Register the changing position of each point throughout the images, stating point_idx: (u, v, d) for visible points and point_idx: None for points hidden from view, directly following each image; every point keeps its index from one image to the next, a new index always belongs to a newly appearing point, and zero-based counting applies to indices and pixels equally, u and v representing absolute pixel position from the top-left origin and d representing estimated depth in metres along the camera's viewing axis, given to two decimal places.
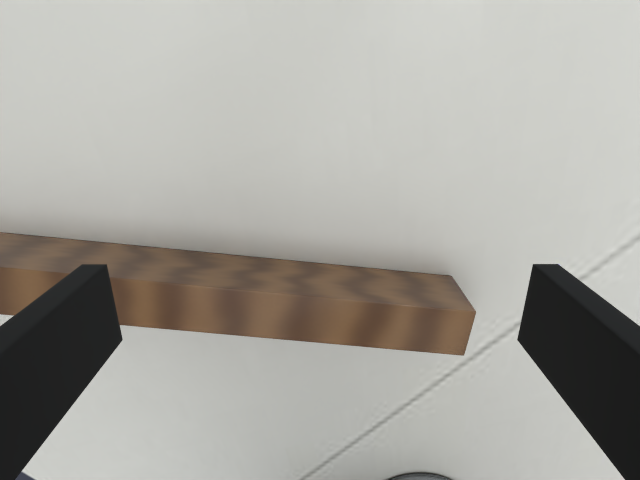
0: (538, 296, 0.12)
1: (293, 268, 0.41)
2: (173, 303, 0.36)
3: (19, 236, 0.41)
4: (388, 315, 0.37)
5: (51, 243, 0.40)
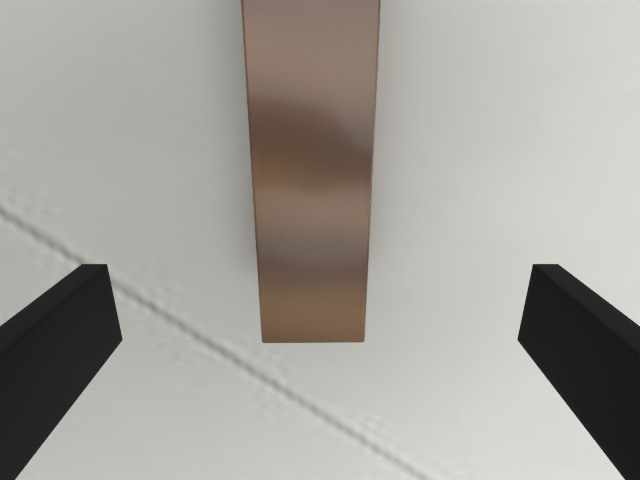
0: (538, 296, 0.12)
1: None
2: None
3: None
4: (342, 178, 0.16)
5: None
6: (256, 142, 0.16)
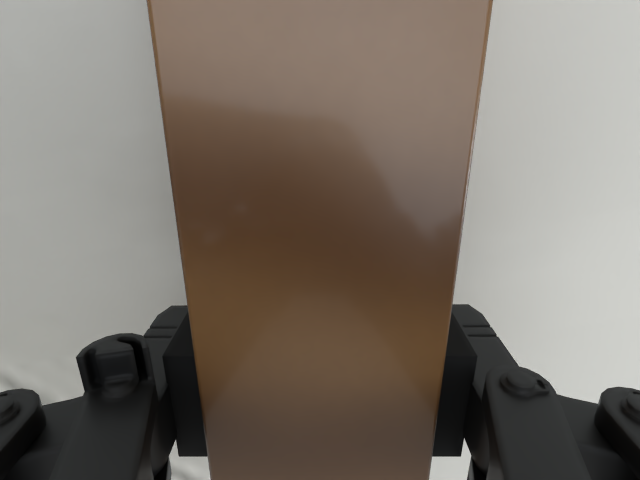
0: None
1: None
2: None
3: None
4: (387, 299, 0.07)
5: None
6: (190, 224, 0.07)
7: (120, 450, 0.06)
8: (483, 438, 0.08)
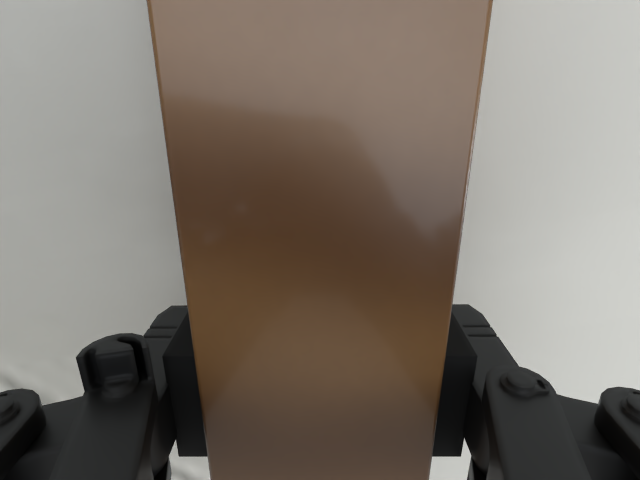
0: None
1: None
2: None
3: None
4: (387, 299, 0.07)
5: None
6: (190, 224, 0.07)
7: (120, 450, 0.06)
8: (483, 438, 0.08)
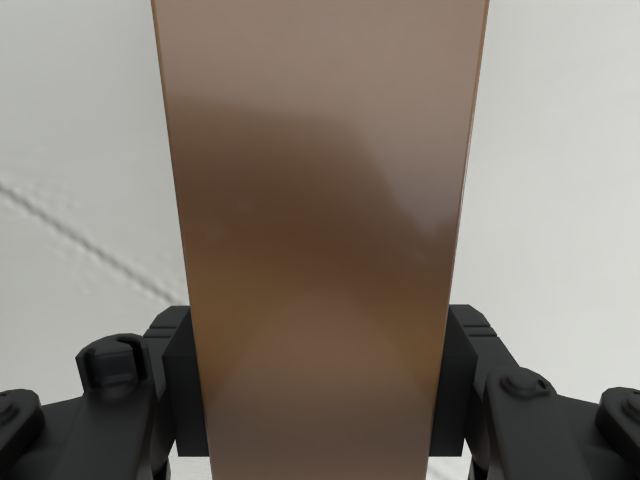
0: None
1: None
2: None
3: None
4: (385, 296, 0.07)
5: None
6: (192, 221, 0.07)
7: (119, 450, 0.06)
8: (484, 438, 0.08)
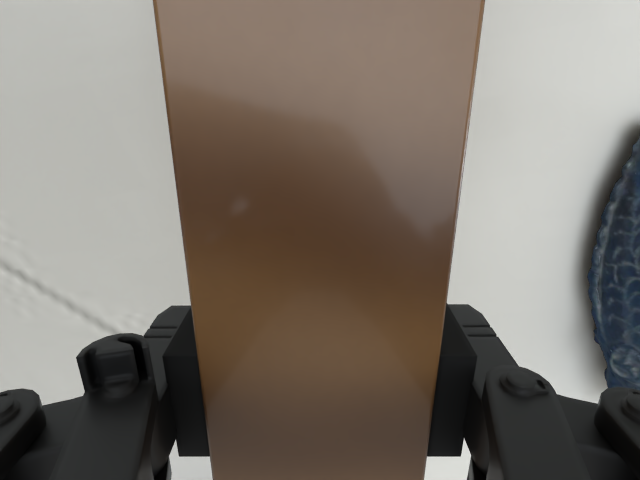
0: None
1: None
2: None
3: None
4: (384, 293, 0.07)
5: None
6: (193, 219, 0.07)
7: (120, 450, 0.06)
8: (483, 438, 0.08)
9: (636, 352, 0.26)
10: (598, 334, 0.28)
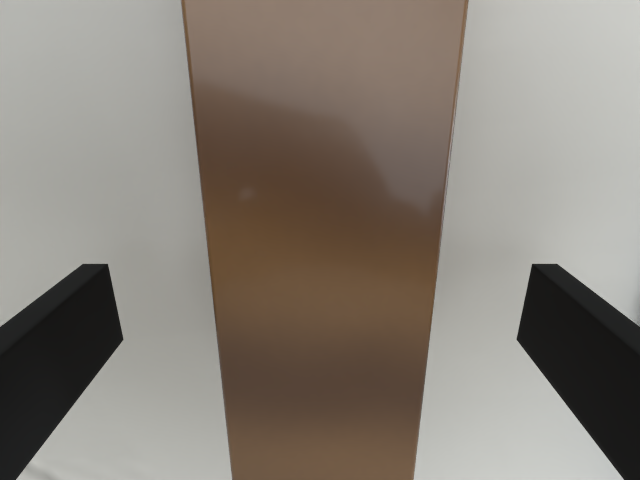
0: (537, 296, 0.12)
1: None
2: None
3: None
4: (383, 243, 0.08)
5: None
6: (212, 173, 0.08)
7: None
8: None
9: None
10: None
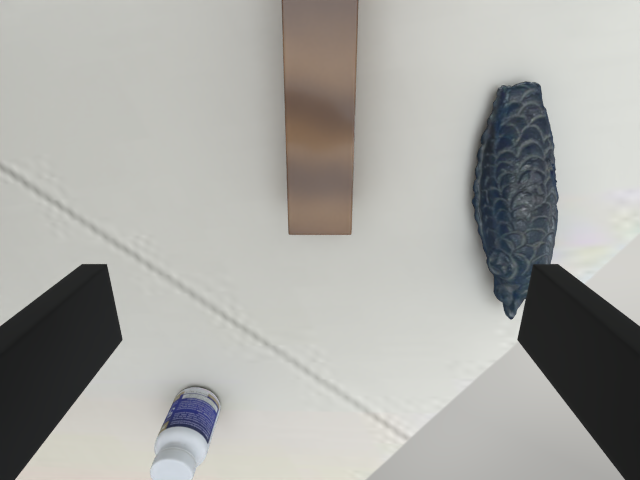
0: (538, 296, 0.12)
1: None
2: None
3: None
4: (337, 129, 0.28)
5: None
6: (288, 108, 0.28)
7: None
8: None
9: (504, 254, 0.35)
10: (483, 246, 0.37)
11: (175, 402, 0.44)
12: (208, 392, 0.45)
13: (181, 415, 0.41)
